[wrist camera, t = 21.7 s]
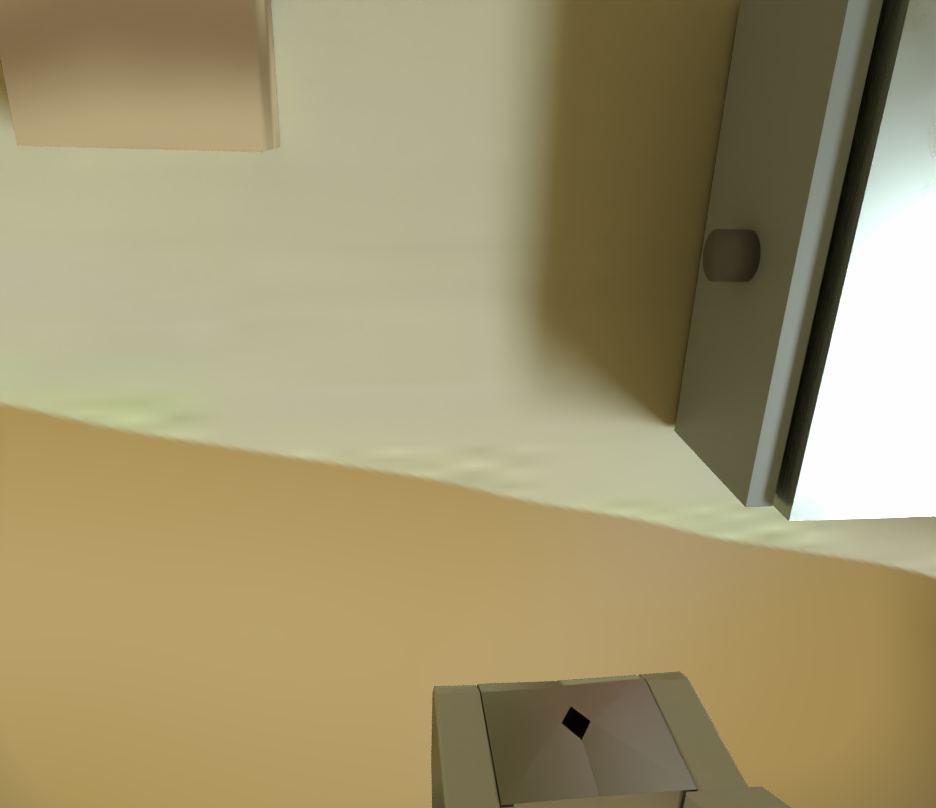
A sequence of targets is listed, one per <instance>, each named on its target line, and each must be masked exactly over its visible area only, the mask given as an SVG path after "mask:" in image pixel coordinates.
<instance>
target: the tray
mask: <svg viewBox="0 0 936 808" xmlns="http://www.w3.org/2000/svg"><path fill="white" fill-rule="evenodd" d="M882 3H883V0H741V1H740V6H739V13H738V19H737V26H736V33H735V39H734V46H733V52H732V59H731V65H730V72H729V78H728V85H727V91H726V98H725V104H724V111H723V117H722V124H721V130H720V137H719V143H718V150H717V156H716V163H715V169H714V176H713V182H712V189H711V195H710V202H709V209H708V215H707V222H706V228H705V235H704V241H703V248H702V254H701V261H700V267H699V274H698V280H697V287H696V293H695V300H694V306H693V313H692V319H691V326H690V332H689V339H688V345H687V352H686V358H685V365H684V371H683V378H682V385H681V391H680V398H679V404H678V411H677V417H676V424H675V430H674V431H675V432H676V433H677V434H678V435H679V436H680V437H681V438H682V439H683V441H684V442H685V443H686V444H687V445H688V446H689V447H690V448H691V449H692V450H693V451H694V452H695V453H696V454H697V456H698V457H699V458H700V459H701V460H702V461H703V462H704V463H705V464H706V465H707V466H708V467H709V468H710V469H711V471H712V472H713V473H714V474H715V475H716V476H717V477H718V478H719V479H720V480H721V481H722V482H723V483H724V484H725V485H726V487H727V488H728V489H729V490H730V491H731V492H732V493H733V494H734V495H735V496H736V497H737V498H738V499H739V500H740V502H741V503H742V504H743V505H744V506H745V507H761V506H772V505H773V500H774V496H775V491H776V487H777V482H778V477H779V473H780V468H781V464H782V459H783V455H784V450H785V446H786V441H787V436H788V432H789V427H790V423H791V418H792V414H793V409H794V405H795V400H796V395H797V391H798V386H799V382H800V377H801V373H802V368H803V363H804V359H805V354H806V350H807V345H808V341H809V336H810V332H811V327H812V322H813V318H814V313H815V309H816V304H817V300H818V295H819V290H820V286H821V281H822V277H823V272H824V268H825V263H826V259H827V254H828V249H829V245H830V240H831V236H832V231H833V227H834V222H835V218H836V213H837V208H838V204H839V199H840V195H841V190H842V186H843V181H844V176H845V172H846V167H847V163H848V158H849V154H850V149H851V145H852V140H853V135H854V131H855V126H856V122H857V117H858V113H859V108H860V103H861V99H862V94H863V90H864V85H865V81H866V76H867V72H868V67H869V62H870V58H871V53H872V49H873V44H874V40H875V35H876V31H877V26H878V21H879V17H880V12H881V8H882Z"/></svg>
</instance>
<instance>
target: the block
mask: <svg viewBox="0 0 936 808" xmlns="http://www.w3.org/2000/svg"><path fill="white" fill-rule="evenodd" d="M0 59H1V64H2V69H3V74H4V79H5V85H6V90H7V95H8V100H9V105H10V110H11V116H12V121H13V126H14V131H15V136H16V141H17V145H21V146H57V147H93V148H130V149H166V150H203V151H239V152H265V151H268V150H272V149H275V148H278V147H280V138H279V122H278V106H277V90H276V74H275V59H274V43H273V27H272V11H271V0H0Z"/></svg>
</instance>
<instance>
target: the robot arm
mask: <svg viewBox="0 0 936 808" xmlns="http://www.w3.org/2000/svg"><path fill="white" fill-rule="evenodd" d="M431 749H432V750H431V772H432V808H791V807H789V806H788V805H786V804H785V803H784V802H782V801H781V800H780V799H778V798H777V797H775V796H774V795H773V794H771V793H770V792H769V791H767V790H766V789H764V788H763V787H748V785H747V783H746V782H745V780H744V778H743V776H742V775H741V773H740V771H739V769H738V767H737V766H736V764H735V762H734V760H733V758H732V757H731V755H730V753H729V751H728V749H727V748H726V746H725V744H724V742H723V741H722V739H721V737H720V735H719V733H718V732H717V730H716V728H715V727H714V724H713V723H712V721H711V719H710V718H709V716H708V714H707V712H706V710H705V708H704V707H703V705H702V703H701V701H700V699H699V698H698V696H697V694H696V693H695V691H694V689H693V687H692V685H691V683H690V682H689V680H688V679H687V677H686V676H685V675H684V674H682V673H681V672H667V673H653V674H640V675H639V676H636V675H629V676H615V677H602V678H587V679H573V680H560V681H544V682H518V683H489V684H478V685H477V686H476V685H465V686H464V685H463V686H434V690H433V698H432V747H431Z"/></svg>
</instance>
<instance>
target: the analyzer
mask: <svg viewBox="0 0 936 808" xmlns="http://www.w3.org/2000/svg"><path fill="white" fill-rule="evenodd" d="M773 506H774V507H775V508H776V509H777V510H778V511H779V512H780V513H781V514H782V515H783V516H784V517H785V518H786V519H787V520H789V521H806V520H835V519H863V518H892V517H920V516H936V0H883V3H882V8H881V12H880V17H879V21H878V26H877V31H876V35H875V40H874V44H873V49H872V53H871V58H870V62H869V67H868V72H867V76H866V81H865V85H864V90H863V94H862V99H861V103H860V108H859V113H858V117H857V122H856V126H855V131H854V135H853V140H852V145H851V149H850V154H849V158H848V163H847V167H846V172H845V176H844V181H843V186H842V190H841V195H840V199H839V204H838V208H837V213H836V218H835V222H834V227H833V231H832V236H831V240H830V245H829V249H828V254H827V259H826V263H825V268H824V272H823V277H822V281H821V286H820V290H819V295H818V300H817V304H816V309H815V313H814V318H813V322H812V327H811V332H810V336H809V341H808V345H807V350H806V354H805V359H804V363H803V368H802V373H801V377H800V382H799V386H798V391H797V395H796V400H795V405H794V409H793V414H792V418H791V423H790V427H789V432H788V436H787V441H786V446H785V450H784V455H783V459H782V464H781V468H780V473H779V477H778V482H777V487H776V491H775V496H774V500H773Z"/></svg>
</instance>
